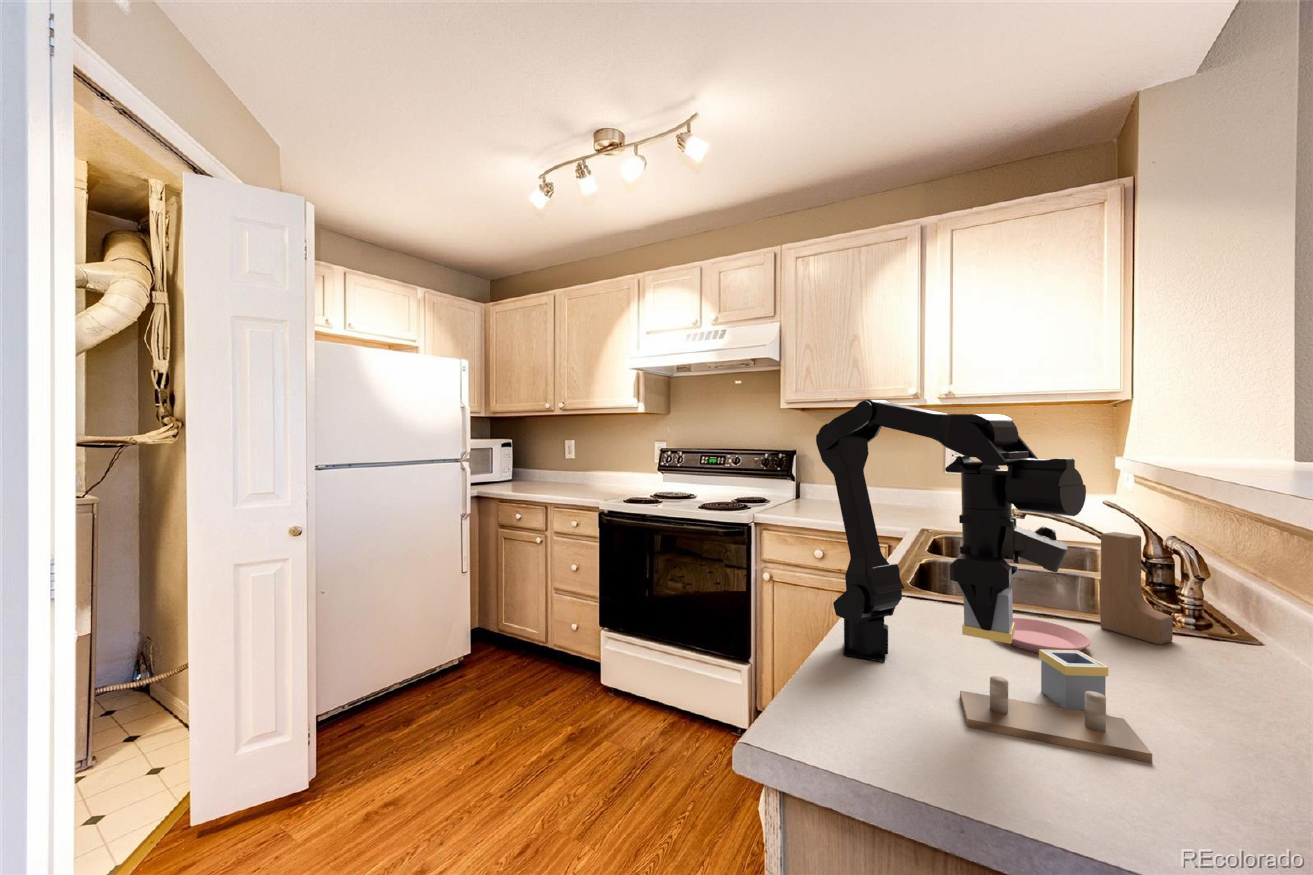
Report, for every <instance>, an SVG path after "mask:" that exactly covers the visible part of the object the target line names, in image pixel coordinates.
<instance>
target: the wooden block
mask: <svg viewBox="0 0 1313 875" xmlns="http://www.w3.org/2000/svg"><path fill="white" fill-rule="evenodd" d="M1099 607H1100V608H1099V609H1100V623H1099V624H1100V626H1099V627H1100V628H1101V629H1103V630H1106V631H1110V632H1114V633H1117V634H1120V635H1124V636H1127V637H1131V638H1134V639H1138V640H1141V641H1144V642H1148V643H1151V644H1154V645H1158V646H1159V645H1160V646H1161V645H1164V644H1166V643H1171V642H1172V641H1173V636H1174V635H1173V634H1174V633H1173V631H1174V630H1173V626H1174V625H1173V620H1174V618H1173V616H1171V615H1169V614H1168V613H1167V614H1166V613H1164V612H1162V611H1159V610H1156V609H1155V608H1153V607H1152V606H1151V605H1150V604H1149V603H1148V602H1147V601H1146V599H1145V598H1144V593H1143V591H1142V536H1140V535H1138V534H1130V533H1125V532H1123V533H1122V532H1118V531H1116V532H1115V531H1114V532H1113V531H1112V532H1105V533H1101V534H1100V606H1099Z"/></svg>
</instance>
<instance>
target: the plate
mask: <svg viewBox="0 0 1313 875" xmlns="http://www.w3.org/2000/svg"><path fill="white" fill-rule="evenodd" d="M1013 622H1015V633H1014V636H1013V639H1012V643H1011V644H1010V645H1012V646H1015V647H1017V648H1020V649H1023V650H1025V651H1030V652H1035V653H1038V654H1039V650H1078V651H1080V652H1082V650H1084V649H1086V648H1088V647H1089V646H1090V645H1091V639H1090V638H1089V637H1087V635H1085V634H1083V633H1082V632H1079V631H1078V630H1075V629H1073V628H1070V627H1067V626H1064V625H1061V624H1058V623H1054V622H1049V621H1044V620H1039V619H1033V618H1023V617H1013Z"/></svg>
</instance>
